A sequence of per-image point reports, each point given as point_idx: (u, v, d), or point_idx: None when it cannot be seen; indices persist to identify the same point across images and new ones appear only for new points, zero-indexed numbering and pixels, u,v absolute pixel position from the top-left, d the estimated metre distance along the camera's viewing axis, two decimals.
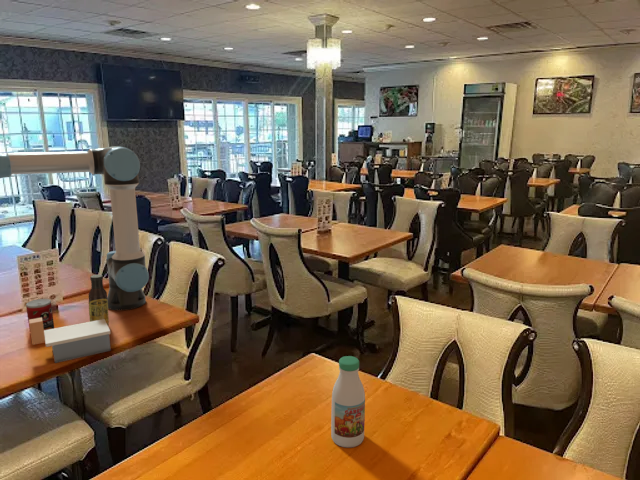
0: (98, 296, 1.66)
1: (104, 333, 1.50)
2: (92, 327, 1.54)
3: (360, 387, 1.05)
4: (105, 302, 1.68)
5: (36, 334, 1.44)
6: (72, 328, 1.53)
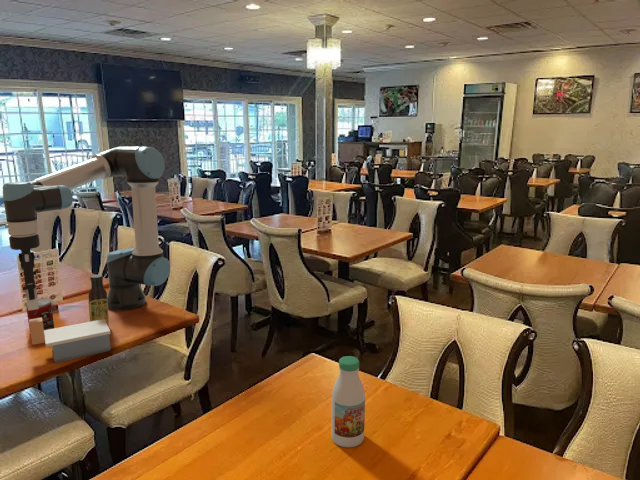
0: (98, 296, 1.66)
1: (104, 333, 1.50)
2: (92, 327, 1.54)
3: (360, 387, 1.05)
4: (105, 302, 1.68)
5: (36, 334, 1.44)
6: (72, 328, 1.53)
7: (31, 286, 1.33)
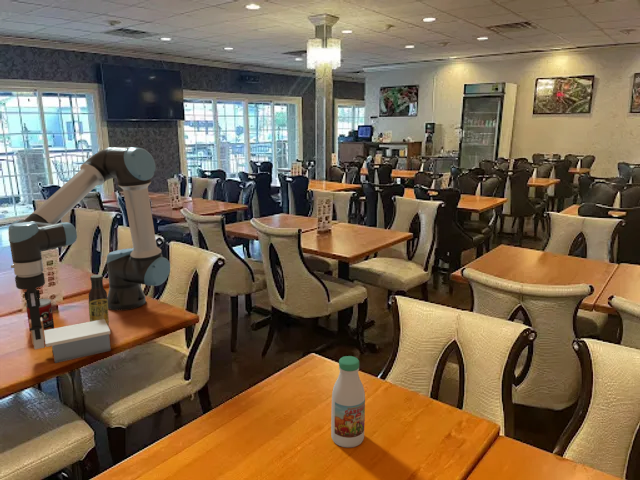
0: (98, 296, 1.66)
1: (104, 333, 1.50)
2: (92, 327, 1.54)
3: (360, 387, 1.05)
4: (105, 302, 1.68)
5: None
6: (72, 328, 1.53)
7: (37, 327, 1.40)
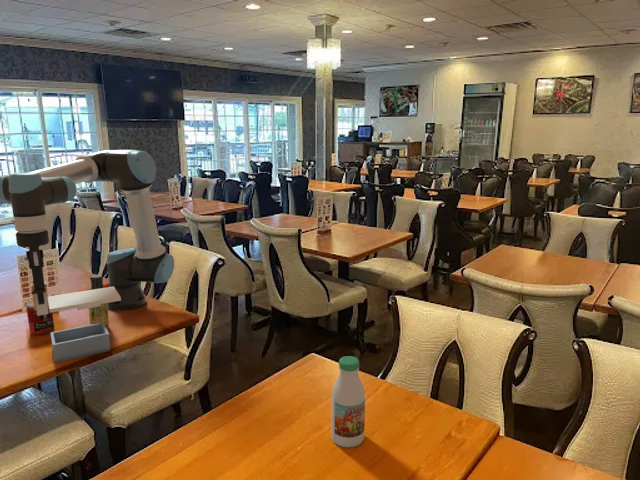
0: None
1: (114, 299, 1.36)
2: (101, 294, 1.39)
3: (360, 387, 1.05)
4: None
5: None
6: (78, 294, 1.38)
7: (41, 290, 1.25)
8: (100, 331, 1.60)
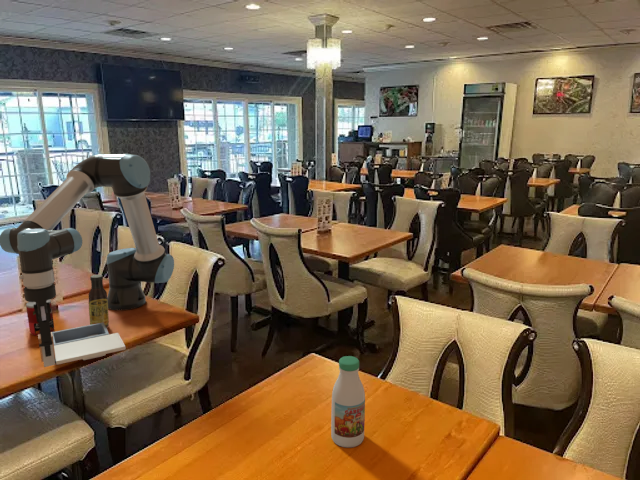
0: (98, 296, 1.66)
1: (118, 348, 1.39)
2: (105, 342, 1.42)
3: (360, 387, 1.05)
4: (105, 302, 1.68)
5: None
6: (84, 343, 1.42)
7: (48, 343, 1.29)
8: (100, 331, 1.60)
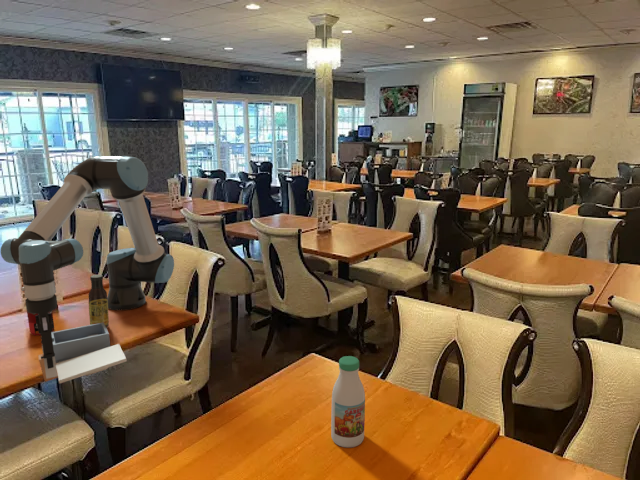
0: (98, 296, 1.66)
1: (120, 361, 1.40)
2: (107, 355, 1.43)
3: (360, 387, 1.05)
4: (105, 302, 1.68)
5: None
6: (86, 358, 1.43)
7: (50, 355, 1.28)
8: (100, 331, 1.60)
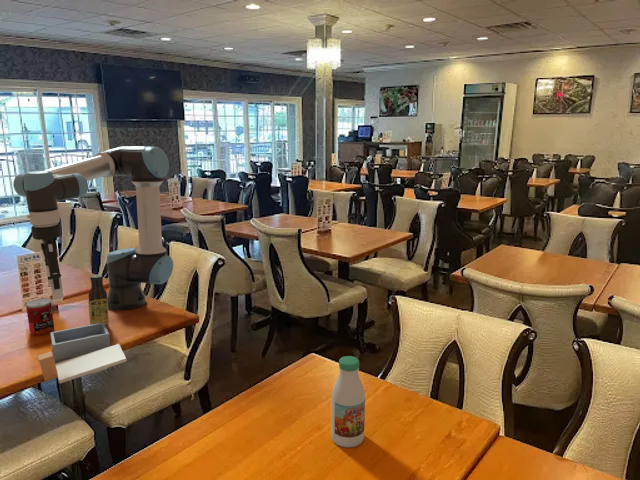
0: (98, 296, 1.66)
1: (120, 361, 1.40)
2: (107, 355, 1.43)
3: (360, 387, 1.05)
4: (105, 302, 1.68)
5: (48, 370, 1.34)
6: (86, 358, 1.43)
7: (56, 276, 1.33)
8: (100, 331, 1.60)
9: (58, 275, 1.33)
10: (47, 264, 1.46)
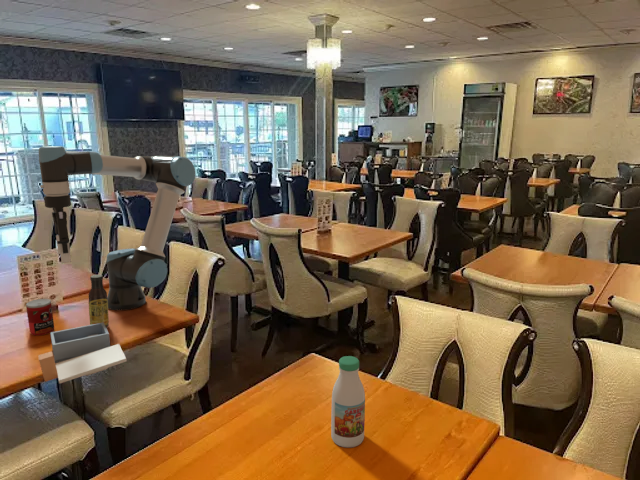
0: (98, 296, 1.66)
1: (120, 361, 1.40)
2: (107, 355, 1.43)
3: (360, 387, 1.05)
4: (105, 302, 1.68)
5: (48, 370, 1.34)
6: (86, 358, 1.43)
7: (65, 240, 1.46)
8: (100, 331, 1.60)
9: (67, 239, 1.47)
10: (57, 233, 1.60)
